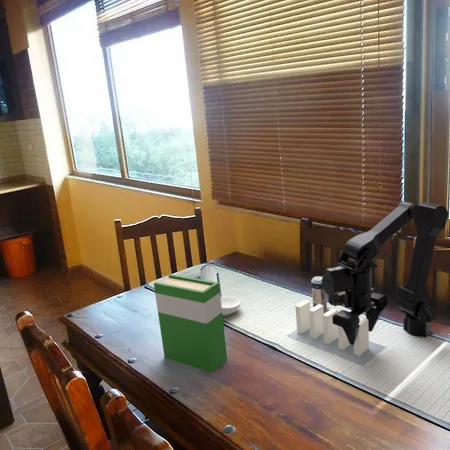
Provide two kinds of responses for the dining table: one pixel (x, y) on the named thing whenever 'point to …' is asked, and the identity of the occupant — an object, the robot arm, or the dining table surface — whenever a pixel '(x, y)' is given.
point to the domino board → (334, 347)
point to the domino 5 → (362, 338)
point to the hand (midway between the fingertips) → (361, 337)
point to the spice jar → (318, 292)
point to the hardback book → (191, 321)
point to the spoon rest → (229, 305)
